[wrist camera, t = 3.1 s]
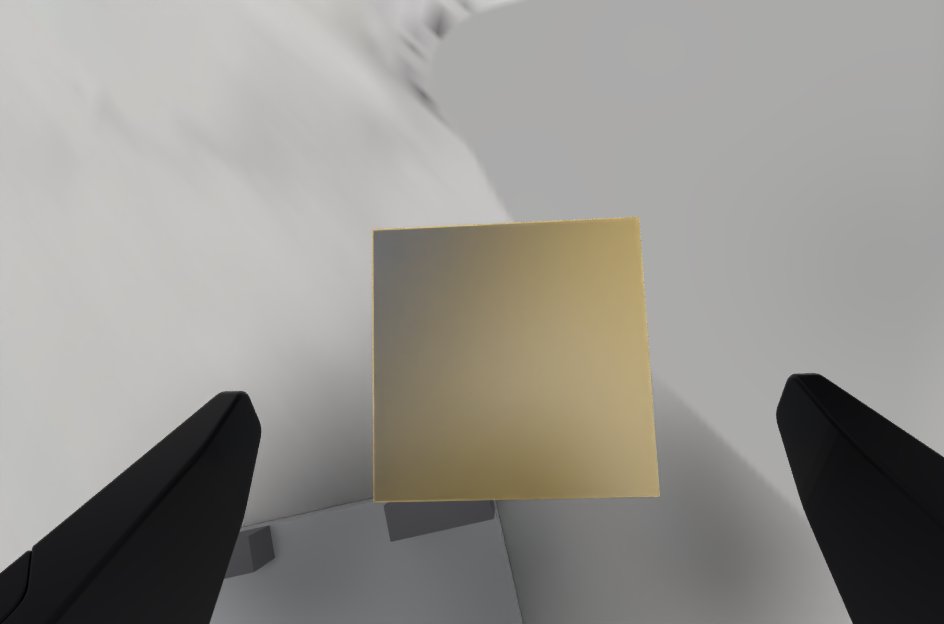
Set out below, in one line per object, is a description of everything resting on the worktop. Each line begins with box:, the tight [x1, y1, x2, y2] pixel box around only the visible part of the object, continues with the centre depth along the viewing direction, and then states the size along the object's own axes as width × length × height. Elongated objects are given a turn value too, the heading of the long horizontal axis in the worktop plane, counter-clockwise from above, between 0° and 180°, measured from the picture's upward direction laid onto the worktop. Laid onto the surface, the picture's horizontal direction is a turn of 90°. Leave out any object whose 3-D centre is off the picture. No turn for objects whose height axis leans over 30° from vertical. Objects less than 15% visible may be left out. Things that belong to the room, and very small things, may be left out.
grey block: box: [372, 217, 660, 502], centre depth 14 cm, size 4×4×11 cm
